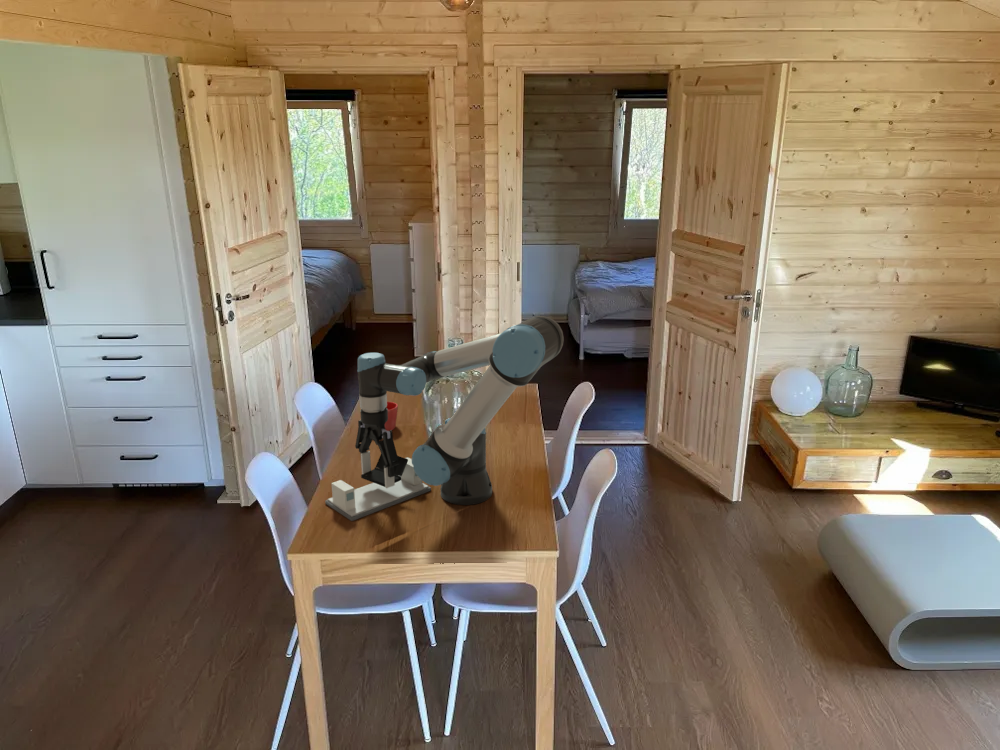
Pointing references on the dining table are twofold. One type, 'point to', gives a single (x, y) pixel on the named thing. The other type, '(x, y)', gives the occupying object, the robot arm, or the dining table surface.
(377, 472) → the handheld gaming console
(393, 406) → the flower pot
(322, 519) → the dining table surface
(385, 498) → the board
